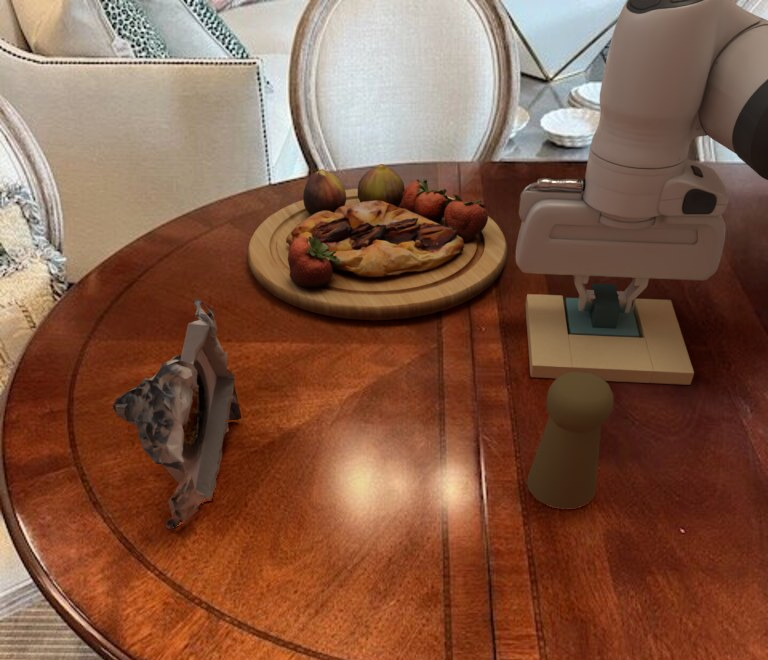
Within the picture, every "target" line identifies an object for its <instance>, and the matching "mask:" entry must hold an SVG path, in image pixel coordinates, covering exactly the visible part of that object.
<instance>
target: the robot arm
mask: <svg viewBox="0 0 768 660" xmlns="http://www.w3.org/2000/svg"><path fill="white" fill-rule="evenodd" d="M615 23H616V24H615V26H614V29H613V33H612V36H611V40H610V44H609V47H608V52H607V56H606V61H605V65H604V70H603V74H602V80H601V85H600V90H599V110H600V112H599V113H600V114H599V121H598V125H597V127H596V129H595V132H594V134H593V136H592V139H591V142H590V147H589V152H588V158H587V163H586V169H585V173H584V174H585V176H584V178H583V179H582V178H577V179H576V178H565V179H564V178H563V179H552V178H549V177H547V178H546V177H544V178H543V177H542V178H538V179H537V180H536V182H532V183H530V184H528V185H527V186H526V187H524V189H522V191H521V193H520V194H519V195H520V196H519V200H518V201H519V202H518V209H517V213H518V217H519V219H520V220H521V223H520V227H519V231H518V235H517V239H516V246H515V264H516V266H517V267H518V268H519V270H520V271H521V272H522V273H523V274H535V275H560V276H561V275H562V276H572V278H573V284H574V287H575V288H576V290H577V293H578V298H579V299H578V310H579V311H591V312H592V311H593V305H594V302H595V295H594V290H591V289H587V287H586V285H587V284H589V280H590V277H609V278H610V277H611V278H629V279H631V280H632V281H631V283H629V285H628V286H627V287H626V288H625V290H616V291H617V295H618V300H619V304H620V313H629V312H630V308H631V304H632V305H633V301H634V300H635V299H637V297H638V296H640V294H641V293H642V292H644V291H645V290H646V288H648V285H649V281H650V279H656V280H681V281H700V282H701V281H704V282H705V281H707V280H708V279H710V278H711V277H712V276H714V275H715V274H716V273H717V271H718V269H719V266H720V262H721V259H722V255H723V252H724V246H725V240H726V233H727V227H726V223H725V220H724V217H723V214H724V213H725V211H726V209H727V207H728V204H729V194H728V191H727V188H726V185H725V184H724V181H723V180H722V178H721V177H720V175H719V174H718V173H717V172H716V170H715V169H714V168H712V167H710V166H707V165H705V164H702V163H699V162H696V161H693V160H691V159H688V155H689V151H690V150H689V149H690V145H691V143H692V141H694V140H695V139H696V138H699V137H707V136H708V137H709V138H710V139H712V140H713V141H715V142H716V143H717V144H720V145H721V146H722V147H724V148H726V149H728V150H729V151H730V152H732V153H733V154H735V155H736V156H737V157H738V158H739V159H740V160H741V161H743V162H744V164H746V165H747V166H748V167H749V168H751V169H752V170H753V172H754V173H756V174H757V175H758V176H759V177H761V178H762V179H764V180H766V181H768V19H767V18H763V17H761V16H758V15H756V14H754V13H752V12H750V11H748V10H746V9H744V8H743V7H742V6H739V5H738V4H737V3H735V2H734V1H733V0H626V2H625V3H624V5H623V6H622V9H621V11H620V13H619V15H618V18H617V21H616V22H615Z"/></svg>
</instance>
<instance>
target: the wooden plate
mask: <svg viewBox="0 0 768 660" xmlns="http://www.w3.org/2000/svg"><path fill="white" fill-rule="evenodd" d="M447 192H448V190H447V189H446V188H443V189H440V190H436V189H429V185H428V179H425V178H423V179H422V180H421V179H420V178H419V179H418V178H415V180H413V181H411V183H409V184H408V185H407V186H406V187H405V183H404V180H403V179H402V177H401V176H400V174H399V173H398V172H396V171H395V170H394V169H393V168H391V167H388V166H386V165H385V164H384V163H379V164H378V165H376V166H375V167H372V168H371V169H369V170H368V171H366V173H364V174H363V175H362V177H361V178H360V180H359V181H358V184H357V188H351V189H345V187H344V185H343V184H342V182H341V181H340V179H339V178H338V177H337V176H336V175H335V174H334V173H332V172H329V171H327V170H325V169H324V168H321V169H319V170H317V171H315V172H314V173H312V175H311V176H310V177H309V178H308V179H307V181H306V184H305V187H304V190H303V194H302V195H303V196H302V200H299V201H296V202H293V203H291V204H289V205H286V206H285V207H283V208H281V209H279V210H277V211H276V212H274V213H272V214H270V215H269V216H268V217H267V218H266V219H265V220H264V221H262V222H261V223H260V224H259V226H258V227H257V228H256V229H255V231H254V232H253V234H252V235H251V237H250V239H249V242H248V245H247V253H246V254H247V256H246V257H247V264H248V266H249V269H250V272H251V273H252V275H253V276H254V278H255V279H256V281H257V282H258V283H259V284H260V285H261V287H263V288H264V289H265V290H266V291H268V292H269V293H270V294H271V295H273V296H274V297H276V298H278V299H279V300H281V301H283V302H285V303H287V304H289V305H291V306H294V307H296V308H298V309H301V310H304V311H307V312H312V313H315V314H319V315H323V316H328V317H334V318H339V319H340V318H341V319H347V320H348V319H349V320H364V321H388V320H389V321H390V320H400V319H409V318H415V317H422V316H427V315H430V314H434V313H438V312H442V311H446V310H449V309H452V308H454V307H457V306H460V305H462V304H463V303H466V302H468V301H470V300H472V299H473V298H475V297H477V296H479V295H480V294H481V293H483V292H484V291H485V290H487V289H488V288H489V287H491V286H492V285H493V284H494V283H495V281H497V279H498V278H499V276H500V275H501V274H502V272H503V269H504V268H505V265H506V262H507V258H508V243H507V239H506V238H505V235H504V233H503V231H502V230H501V228H500V226H499V225H498V223H496V222H495V221H494V219H492V218H491V217H490V216H489V214H488V211H487V210H486V207H487V206H486V205H485V204H482V203H483V201H482V199H479V200H474V202H473V201H463V200H462V199H461V195H458V194H457V195H456V193H453V194H452V195H453V196H454V197H451V196H448V195H446V193H447Z"/></svg>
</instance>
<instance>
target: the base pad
mask: <svg viewBox="0 0 768 660" xmlns="http://www.w3.org/2000/svg"><path fill="white" fill-rule="evenodd" d="M564 306H565V301H564V296H563V295H559V294H533V293H527V295H526V299H525V320H526V331H527V332H526V333H527V346H528V347H527V348H528V359H529V361H528V363H529V373H530V374H529V375H530V378H537V379H538V378H541V379H557V378H558V377H560V376H562V375H563V374H566V373H570V372H585V373H590V374H593V375H597V376H598V377H600V378H602V379H604V380H605V381H606V382H622V383H638V384H639V383H641V384H642V383H643V384H662V385H663V384H664V385H683V386H684V385H685V386H687V385H688V386H690V385H691V384H692V381H693V378H694V375H695V371H694V367H693V365H692V362H691V358H690V355H689V353H688V350H687V345H686V342H685V340H684V337H683V334H682V331H681V327H680V324H679V321H678V318H677V315H676V312H675V308H674V305H673V302H672V300H671V299H655V298H635V299H634V300H633V303H632V308H633V312H634V316H635V320H636V324H637V328H638V332H639V338H635V337H613V336H591V335H568V332H567V324H566V317H565V310H564Z"/></svg>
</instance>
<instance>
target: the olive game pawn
mask: <svg viewBox="0 0 768 660" xmlns="http://www.w3.org/2000/svg"><path fill="white" fill-rule="evenodd" d="M614 401H615V400H614V392H613V390H612V389H611V386H610V385H609V383H608V381H605V380H604V379H602V378H600V377H598V376H597V375H593V374H590V373H585V372H570V373H566V374H563V375H562V376H560V377H558V378H555V379H554V380H553V382H552V383H551V385H550V386H549V388H548V390H547V394H546V400H545V405H546V411H547V414H548V416H549V417H548V419H547V422H546V425H545V428H544V430H543V434H542V436H541V438H540V442H539V444H538V447H537V450H536V453H535V455H534V457H533V460H532V461H533V462H532V464H531V467H530V468H529V472H528V475H527V478H528V479H527V478H526V486H527V485H528V488H529V491H530V492H531V493H532V494H533V495H534V496H535V498H537V499H538V500H540V501H541V502H543V503H545V504H548V505H551V506H553V507H559V508H564V509H566V508H572V509H573V508H577V507H579V506H581V505H582V506H583V505H585V504H587V503H588V502H590V501H591V500H592V498H593V497H594V496H595V497H596V495H595V494H597V483H598V471H599V470H598V469H599V459H600V458H599V456H600V446H601V445H600V444H601V434H602V432H601V431H602V425H604V424H605V423H606V422H607V420H608V419H609V418H610V415H611V414H612V412H613V409H614ZM528 488H527V489H528ZM529 491H528V492H529ZM595 497H594V498H595ZM594 498H593V499H594ZM592 501H593V500H592ZM590 503H591V502H590Z"/></svg>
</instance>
